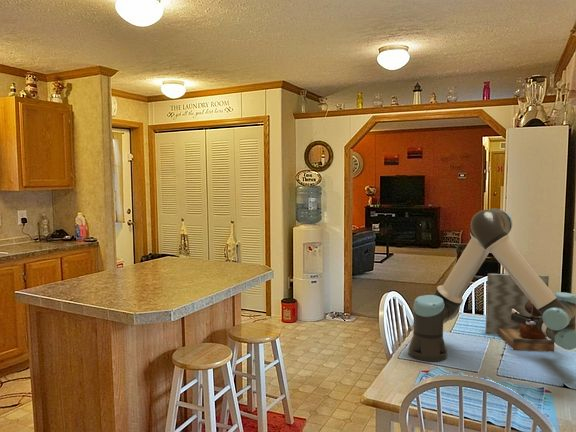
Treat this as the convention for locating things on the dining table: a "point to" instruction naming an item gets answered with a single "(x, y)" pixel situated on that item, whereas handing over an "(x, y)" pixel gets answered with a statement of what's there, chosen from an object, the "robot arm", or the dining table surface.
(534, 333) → the brown curved piece
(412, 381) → the dining table surface
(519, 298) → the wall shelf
